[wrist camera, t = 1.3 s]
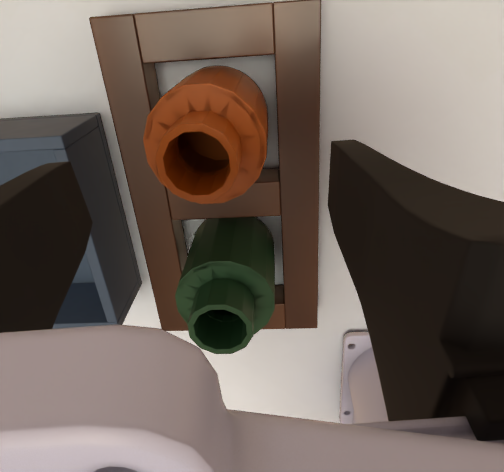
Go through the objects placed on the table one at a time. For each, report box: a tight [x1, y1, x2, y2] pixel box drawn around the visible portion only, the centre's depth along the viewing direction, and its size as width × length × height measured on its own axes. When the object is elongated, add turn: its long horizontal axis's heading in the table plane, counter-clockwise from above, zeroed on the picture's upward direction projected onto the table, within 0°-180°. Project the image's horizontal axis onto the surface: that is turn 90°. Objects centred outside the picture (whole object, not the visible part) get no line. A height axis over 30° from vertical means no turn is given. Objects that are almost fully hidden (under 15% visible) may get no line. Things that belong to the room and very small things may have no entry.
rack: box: [89, 0, 321, 331], centre depth 22 cm, size 10×18×2 cm, turn 4°
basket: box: [0, 113, 142, 329], centre depth 23 cm, size 11×11×4 cm
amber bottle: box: [143, 66, 268, 204], centre depth 18 cm, size 5×5×8 cm
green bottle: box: [175, 217, 275, 354], centre depth 22 cm, size 5×5×8 cm
